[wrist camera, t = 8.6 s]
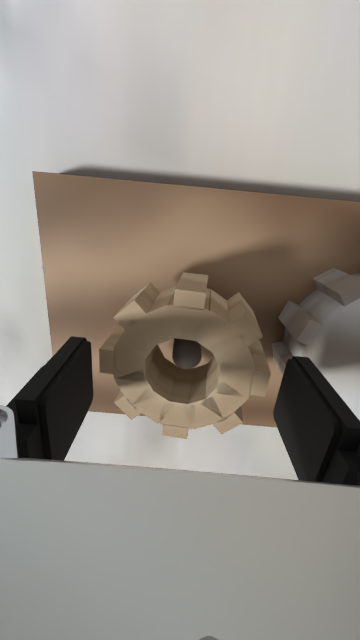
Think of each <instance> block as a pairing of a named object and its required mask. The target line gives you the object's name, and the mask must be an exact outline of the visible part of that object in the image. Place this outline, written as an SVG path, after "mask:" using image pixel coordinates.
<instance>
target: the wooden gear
mask: <svg viewBox="0 0 360 640" xmlns="http://www.w3.org/2000/svg"><path fill="white" fill-rule="evenodd" d="M207 282H208V275H202V274H193V273H185V272H183V274H182V276H181V278H180V280H179V282H178V284H177V286H174V287H172V288H170V289H167V290H165V291H163V292H159V291H158V289H157V288H156V287H155V286H154V285H153V284H152V282H150V283H149V284H147V285H146V286H145V287H144V288H143V289H141V290H140V291H139V292H138V293H137V294H135V295H134V296H133V297H132V298H131V299H130V300H129V301H128V302H127V304H126V305H125V306H124V307H123V308H122V309H121V310H120V311H119V312H118V313H117V314H116V315H115V316H114V317H113V318H114V319H115V320H116V321H117V322H118V323H119V326H118V327H117V328H116V329H115V330H114V332H113V333H112V334H111V335H110V336H109V338H108V339H107V340H106V341H105V342H104V344H103V345H102V346H101V347H100V348H99V367H100V373H106V374H113V375H114V380H115V381H116V383H117V384H118V386H119V388H120V389H121V390H120V392H119V394H118V396H117V398H116V399H115V401H114V403H115V404H116V405H117V406H118V407H119V408H120V409H121V410H122V411H123V412H124V413H125V414H126V415H127V416H128V417H129V418H130V419H133V418H134V417H136V416H138V415H139V414H141V413H143V414H144V415H146V416H147V417H149V418H151V419H152V420H154V421H155V422H157V423H158V424H159V423H160V424H163V434H162V435H166V436H172V437H178V438H184V439H187V436H188V429H192V428H193V429H196V428H199V427H203V426H207V425H211V424H213V425H214V426H215V427H216V428H217V430H218V431H219V432H220V433H221V434H223V433H224V432H226V431H228V430H230V429H232V428H234V427H236V426H238V425H240V424H242V423H243V417H242V409H241V405H242V404H243V403H244V402H245V401H247V400H248V398H249V395H256V396H263V397H265V395H266V391H267V387H268V383H269V379H270V375H271V371H270V368H269V366H268V363H267V360H266V357H265V354H264V351H263V348H262V345H261V342H260V341H259V339H261V338H262V337H263V336H262V333H261V330H260V328H259V325H258V322H257V320H256V317H255V314H254V312H253V310H252V309H251V307H250V306H249V305H248V303H247V302H246V301H245V300H244V298H243V297H242V296H241V294H240V293H239V292H238V293H237V294H235V295H234V296H232V297H231V298H230V299H228V300H225V299H224V298H223V297H221V296H220V295H218V294H217V293H216V292H214V291H213V290H212V289H211V290H210V289H208V288H207ZM174 338H178V339H185V340H193V341H197V342H198V343H199V344H201V345H202V346H204V347H205V348H207V349H208V350H209V351H211V352H212V353H213V355H214V357H213V358H212V359H211V360H210V361H209V362H208V363H207V364H205V365H202V366H199V367H196V368H191V369H183V368H180V367H178V366H176V365H175V364H174V363H172V362H171V361H169V360H168V359H166V358H165V357H164V355H163V353H162V351H161V349H160V348H159V346H158V344H160V343H163V342H166V341H168V340H171V339H174Z"/></svg>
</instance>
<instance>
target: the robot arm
mask: <svg viewBox="0 0 360 640" xmlns="http://www.w3.org/2000/svg"><path fill="white" fill-rule="evenodd" d="M92 401H93V374H92V352H91V342H90V341H87V339H86V338H85V337H74V336H71V337H70V338H69V339H68V340H67V341H66V342H65V343H64V345H63V346H62V347H61V348H60V349H59V350H58V351H57V352H56V353H55V355H54V356H53V357H52V358H51V359H50V360H49V361H48V362H47V363H46V365H45V366H43V367H41V368H40V370H39V371H38V372H37V373H36V374H35V375H34V376H33V377H32V378H31V379H30V381H29V382H28V383H27V384H26V385H25V386H24V387H23V388H22V389H21V390H20V392H19V393H18V394H17V395H16V396H15V397H14V398H13V399H12V400H11V401H10V403H9V404H8V405H7V406H2V405H0V640H360V420H359V419H358V418H357V417H356V416H355V414H354V413H353V412H352V411H351V409H350V408H349V407H348V406H347V404H346V403H345V402H344V401H343V399H342V398H341V397H340V396H339V394H338V393H337V392H336V391H335V389H334V388H333V387H332V386H331V384H330V383H329V382H328V381H327V379H326V378H325V377H324V376H323V374H322V373H321V372H320V371H319V369H318V368H317V367H316V366H315V364H314V363H313V362H312V361H311V359H310V358H309V357H300V356H293V357H292V358H291V359H288V360H287V363H286V366H285V370H284V374H283V377H282V381H281V385H280V388H279V392H278V396H277V399H276V403H275V406H274V410H273V417H274V420H275V423H276V425H277V428H278V430H279V433H280V435H281V437H282V440H283V442H284V445H285V447H286V450H287V452H288V455H289V457H290V460H291V462H292V465H293V467H294V469H295V472H296V474H297V477H298V479H299V480H290V479H279V478H268V477H257V476H246V475H234V474H223V473H211V472H199V471H187V470H175V469H163V468H151V467H138V466H125V465H113V464H100V463H87V462H74V461H64V459H65V457H66V455H67V453H68V451H69V449H70V447H71V445H72V443H73V441H74V439H75V436H76V434H77V432H78V430H79V428H80V426H81V424H82V422H83V420H84V418H85V416H86V414H87V412H88V410H89V408H90V406H91V404H92Z"/></svg>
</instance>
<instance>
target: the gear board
mask: <svg viewBox="0 0 360 640" xmlns="http://www.w3.org/2000/svg"><path fill="white" fill-rule="evenodd" d="M33 180H34V189H35V198H36V208H37V217H38V226H39V235H40V244H41V253H42V262H43V271H44V280H45V290H46V299H47V308H48V317H49V326H50V335H51V344H52V353H53V356H54V355H55V353H56V352H57V351H58V350H59V349H60V348H61V347H62V346H63V345H64V343H65V342H66V341H67V340H68V339H69V338H70V337H71V336H74V337H85V338H86V339H87V341H90V342H91V352H92V374H93V401H92V404H91V406H90V408H89V410H88V411H93V412H105V413H117V414H125V413H124V412H123V411H122V410H121V409H120V408H119V407H118V406H117V405H116V404H115V403H114V401H115V399H116V398H117V396H118V394H119V392H120V390H121V389H120V388H119V386H118V384H117V383H116V381H115V380H114V375H113V374H106V373H100V367H99V348H100V347H101V346H102V345H103V344H104V342H105V341H106V340H107V339H108V338H109V336H110V335H111V334H112V333H113V332H114V330H115V329H116V328H117V327H118V326H119V323H118V322H117V321H116V320H115V319H114V318H113V317H114V316H115V315H116V314H117V313H118V312H119V311H120V310H121V309H122V308H123V307H124V306H125V305H126V304H127V302H128V301H129V300H130V299H131V298H132V297H133V296H134V295H135V294H137V293H138V292H139V291H140V290H141V289H143V288H144V287H145V286H146V285H147V284H149V283H150V282H152V284H153V285H154V286H155V287H156V288H157V289H158V291H159V292H163V291H165V290H167V289H170V288H172V287H174V286H177V284H178V282H179V280H180V278H181V276H182V274H183V272H185V273H193V274H202V275H208V282H207V288H208V289H210V290H211V289H212V290H213V291H214V292H216V293H217V294H218V295H220V296H221V297H223V298H224V299H225V300H228V299H230V298H231V297H232V296H234V295H235V294H237V293H238V292H239V293H240V294H241V296H242V297H243V298H244V300H245V301H246V302H247V303H248V305H249V306H250V307H251V309H252V310H253V312H254V314H255V317H256V320H257V322H258V325H259V328H260V330H261V333H262V336H263V337H262V338H261V339H259V341H260V342H261V345H262V348H263V351H264V354H265V357H266V360H267V363H268V366H269V368H270V371H271V375H270V379H269V383H268V387H267V391H266V395H265V397H263V396H256V395H249V398H248V400H247V401H245V402H244V403H243V404H242V405H241V409H242V417H243V423H242V424H244V425H256V426H268V427H277V425H276V423H275V420H274V417H273V410H274V406H275V403H276V399H277V396H278V392H279V388H280V385H281V381H282V377H283V374H284V370H285V366H286V363H287V360H288V359H291V358H292V357H293V356H300V357H309V358H310V359H311V361H312V362H313V363H314V364H315V366H316V367H317V368H318V369H319V371H320V372H321V373H322V374H323V376H324V377H325V378H326V379H327V381H328V382H329V383H330V384H331V386H332V387H333V388H334V389H335V391H336V392H337V393H338V394H339V396H340V397H341V398H342V399H343V401H344V402H345V403H346V404H347V406H348V407H349V408H350V409H351V411H352V412H353V413H354V414H355V416H356V417H357V418H358V419H359V420H360V202H356V201H346V200H335V199H324V198H314V197H303V196H292V195H281V194H271V193H260V192H249V191H239V190H228V189H217V188H207V187H196V186H185V185H174V184H164V183H153V182H142V181H132V180H121V179H110V178H100V177H89V176H78V175H67V174H57V173H46V172H35V171H33ZM158 346H159V348H160V349H161V351H162V353H163V355H164V357H165V358H166V359H168V360H169V361H171V362H172V363H174V364H175V365H176V366H178V367H180V368H183V369H191V368H196V367H199V366H202V365H205V364H207V363H208V362H209V361H210V360H211V359H212V358H213V357H214V355H213V353H212V352H211V351H209V350H208V349H207V348H205V347H204V346H202V345H201V344H199V343H198V342H197V341H193V340H185V339H178V338H174V339H171V340H168V341H166V342H163V343H160V344H158ZM139 415H140V416H146V415H144V414H143V413H141V414H139Z"/></svg>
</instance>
